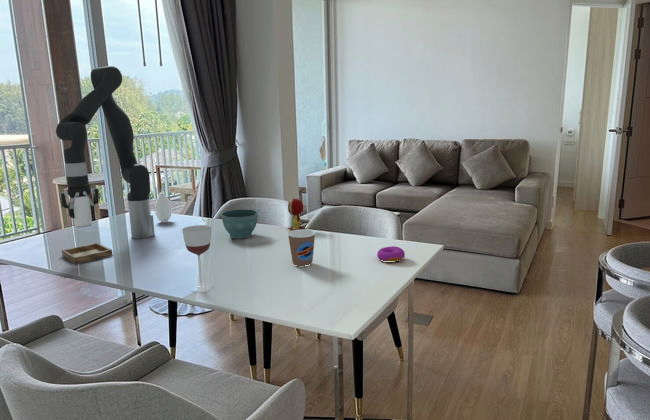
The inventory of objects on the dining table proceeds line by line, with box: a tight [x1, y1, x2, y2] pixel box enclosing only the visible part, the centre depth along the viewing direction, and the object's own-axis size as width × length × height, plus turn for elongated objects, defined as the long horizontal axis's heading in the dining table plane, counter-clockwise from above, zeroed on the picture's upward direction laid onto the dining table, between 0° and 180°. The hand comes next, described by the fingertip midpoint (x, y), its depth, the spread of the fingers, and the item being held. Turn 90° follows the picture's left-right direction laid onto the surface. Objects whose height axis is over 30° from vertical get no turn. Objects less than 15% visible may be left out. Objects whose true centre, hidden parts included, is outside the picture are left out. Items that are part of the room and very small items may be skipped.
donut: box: [376, 245, 406, 261], centre depth 179 cm, size 10×10×4 cm
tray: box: [61, 242, 114, 265], centre depth 192 cm, size 14×15×2 cm
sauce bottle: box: [154, 187, 173, 224], centre depth 245 cm, size 8×8×18 cm
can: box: [71, 196, 93, 228], centre depth 189 cm, size 6×6×12 cm
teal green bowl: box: [220, 208, 259, 239], centre depth 216 cm, size 16×16×11 cm
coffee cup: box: [287, 228, 317, 266], centre depth 176 cm, size 10×10×12 cm
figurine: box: [286, 198, 308, 232], centre depth 224 cm, size 9×10×15 cm
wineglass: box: [181, 224, 212, 287], centre depth 153 cm, size 8×9×20 cm
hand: (82, 216), depth 189 cm, fingers closed on can, 6 cm apart
